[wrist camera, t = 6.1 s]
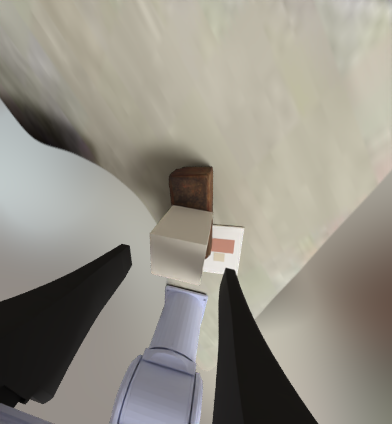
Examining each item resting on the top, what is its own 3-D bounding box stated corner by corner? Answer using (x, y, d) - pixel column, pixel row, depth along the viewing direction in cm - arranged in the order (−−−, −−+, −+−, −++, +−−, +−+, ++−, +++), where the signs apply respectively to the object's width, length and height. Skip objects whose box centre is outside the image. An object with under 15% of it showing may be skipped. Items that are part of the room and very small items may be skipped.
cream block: (207, 245, 16) (199, 285, 12) (171, 237, 17) (151, 273, 12) (213, 212, 14) (206, 245, 10) (172, 205, 15) (149, 233, 10)
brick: (179, 166, 18) (165, 174, 14) (213, 165, 17) (209, 174, 13) (186, 240, 22) (176, 263, 18) (213, 242, 22) (209, 267, 18)
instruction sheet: (237, 274, 24) (237, 276, 24) (199, 269, 25) (199, 271, 25) (244, 227, 20) (244, 228, 20) (199, 223, 21) (198, 224, 21)
